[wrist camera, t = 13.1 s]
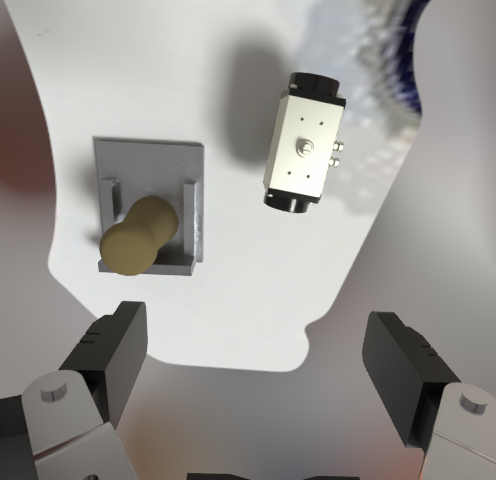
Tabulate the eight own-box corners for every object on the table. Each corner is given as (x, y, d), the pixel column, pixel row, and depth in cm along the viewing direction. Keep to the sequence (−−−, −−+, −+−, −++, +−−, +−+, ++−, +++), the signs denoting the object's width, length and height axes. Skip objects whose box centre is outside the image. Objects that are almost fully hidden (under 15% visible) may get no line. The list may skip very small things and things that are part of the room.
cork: (158, 254, 42) (131, 297, 32) (117, 223, 41) (75, 258, 31) (188, 219, 41) (171, 252, 31) (148, 185, 40) (114, 208, 29)
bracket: (98, 140, 39) (78, 143, 34) (204, 146, 39) (199, 149, 34) (108, 255, 43) (91, 271, 39) (203, 259, 44) (198, 276, 39)
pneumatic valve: (258, 187, 41) (264, 212, 30) (279, 82, 37) (296, 65, 26) (302, 196, 41) (326, 224, 30) (328, 92, 38) (366, 80, 26)
